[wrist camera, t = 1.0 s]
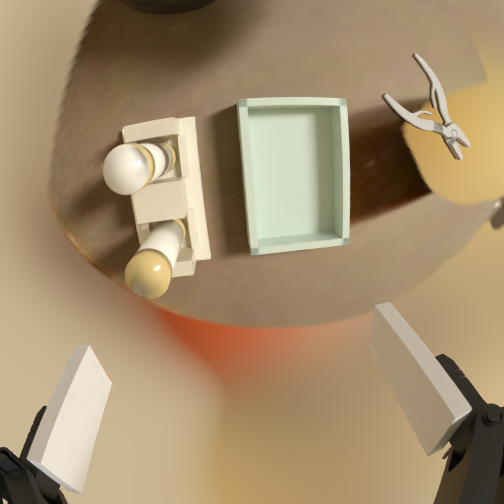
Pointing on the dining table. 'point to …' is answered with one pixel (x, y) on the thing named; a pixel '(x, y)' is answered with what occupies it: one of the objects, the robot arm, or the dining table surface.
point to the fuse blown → (137, 166)
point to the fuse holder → (173, 189)
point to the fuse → (155, 259)
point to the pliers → (447, 129)
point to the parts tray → (295, 172)
